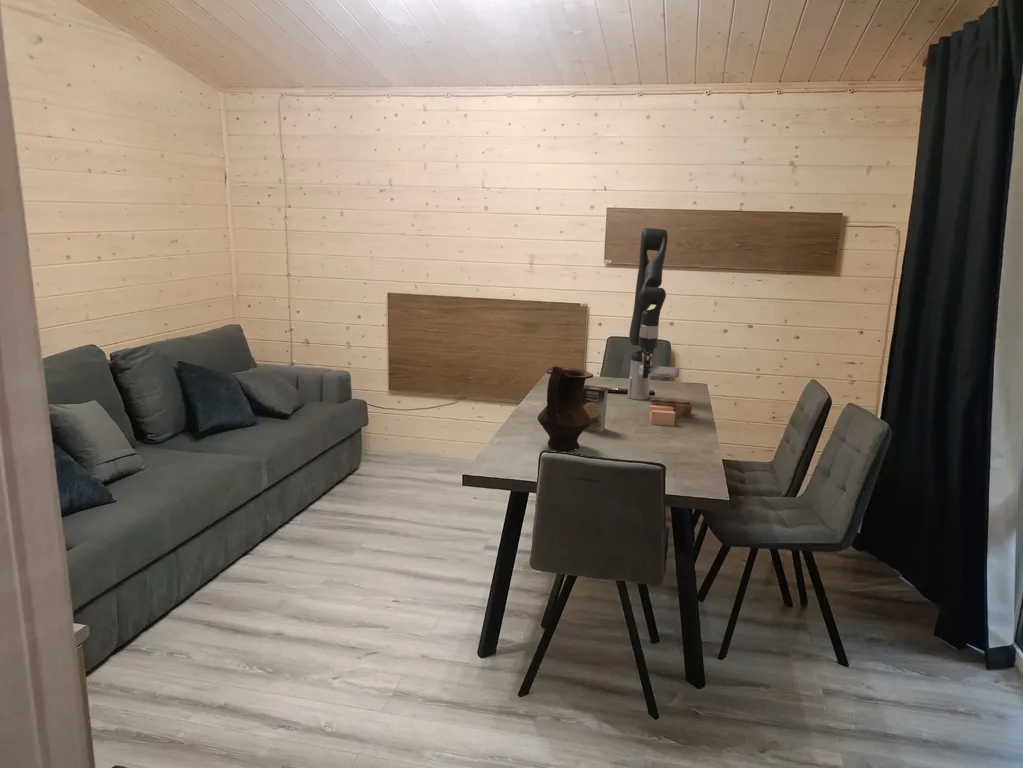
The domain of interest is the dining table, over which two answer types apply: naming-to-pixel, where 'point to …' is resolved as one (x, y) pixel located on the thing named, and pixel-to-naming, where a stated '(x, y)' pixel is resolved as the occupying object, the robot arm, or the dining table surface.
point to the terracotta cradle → (662, 415)
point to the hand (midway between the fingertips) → (644, 376)
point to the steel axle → (661, 371)
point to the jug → (565, 408)
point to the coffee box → (595, 406)
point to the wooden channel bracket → (675, 406)
